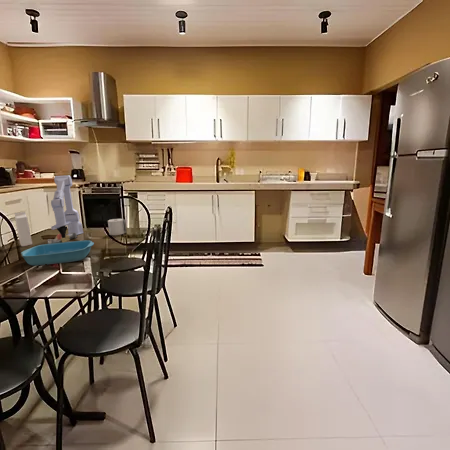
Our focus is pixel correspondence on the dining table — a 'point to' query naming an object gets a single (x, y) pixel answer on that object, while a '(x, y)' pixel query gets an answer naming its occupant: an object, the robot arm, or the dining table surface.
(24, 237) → the milk
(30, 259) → the casserole dish
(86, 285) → the dining table surface
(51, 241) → the valve body
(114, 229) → the toilet tissue
